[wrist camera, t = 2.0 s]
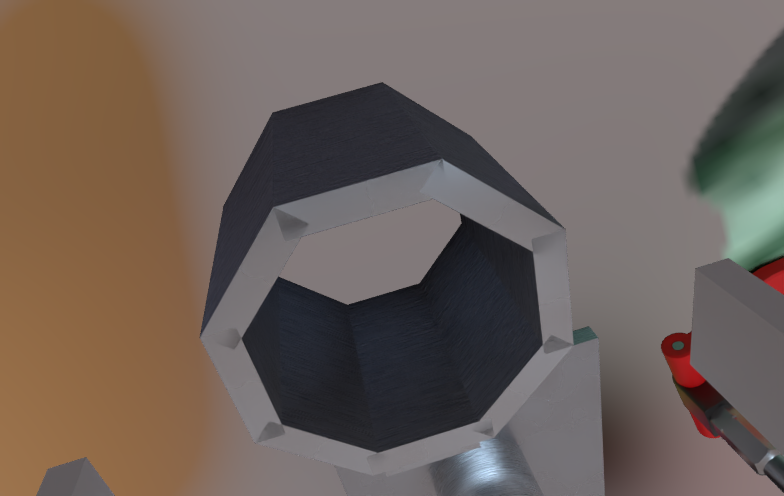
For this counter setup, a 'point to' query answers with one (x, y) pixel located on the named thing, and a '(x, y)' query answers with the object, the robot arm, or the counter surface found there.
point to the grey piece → (388, 311)
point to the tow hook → (714, 409)
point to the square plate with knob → (521, 444)
